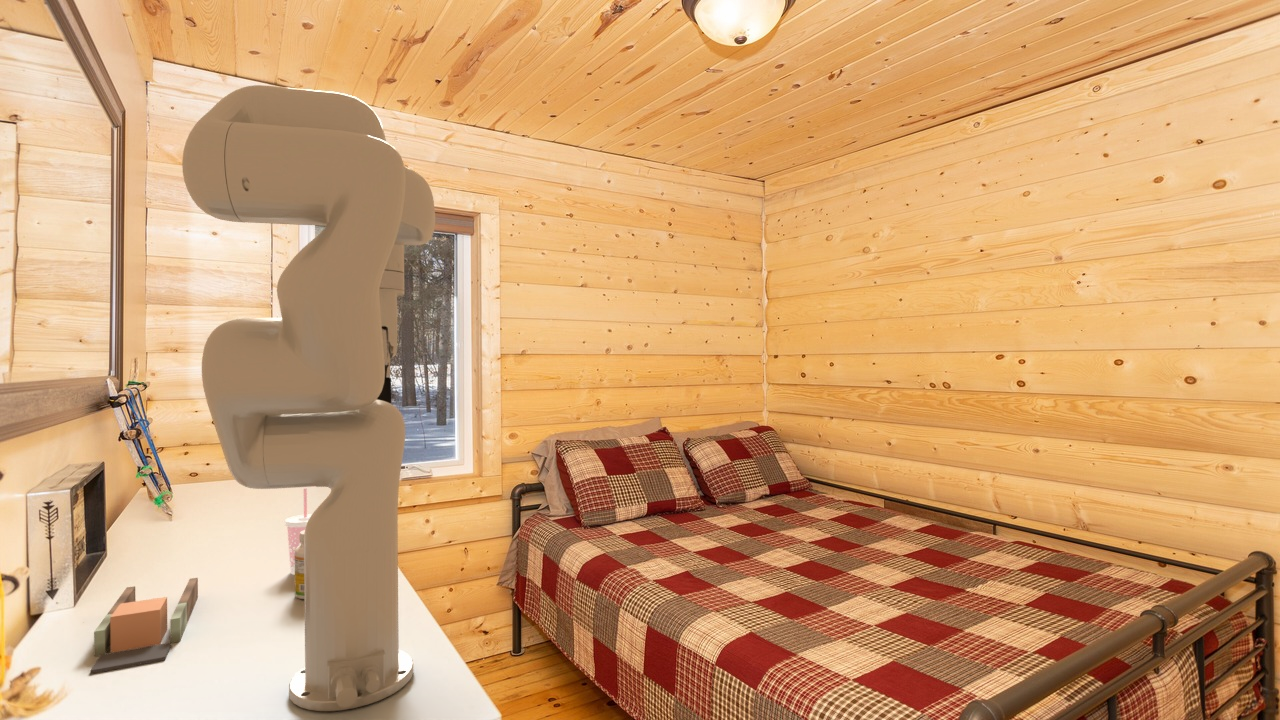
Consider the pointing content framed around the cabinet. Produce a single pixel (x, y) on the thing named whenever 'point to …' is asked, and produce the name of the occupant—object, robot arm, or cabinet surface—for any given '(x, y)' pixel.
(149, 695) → the cabinet surface
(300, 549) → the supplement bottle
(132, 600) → the pair of guide rails
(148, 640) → the block
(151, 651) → the thin dark grey plate
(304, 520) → the beverage cup
